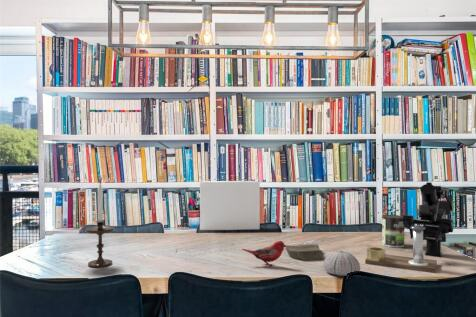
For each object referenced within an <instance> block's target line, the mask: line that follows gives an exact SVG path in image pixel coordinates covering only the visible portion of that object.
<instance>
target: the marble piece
mask: <svg viewBox="0 0 476 317" xmlns="http://www.w3.org/2000/svg"><path fill="white" fill-rule="evenodd" d="M286 246H287V247H285V250H286V252H287V254H288V256H289V257H291V258H292V259H296V260H301V261H319V260H321V259H323V251H322V250H321V249H320V247H319V244H318V243H312V244H301V245H300V244H299V245H298V244H297V245H286Z"/></svg>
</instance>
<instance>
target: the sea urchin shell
mask: <svg viewBox="0 0 476 317" xmlns="http://www.w3.org/2000/svg"><path fill="white" fill-rule="evenodd" d="M322 264H323V269H324V271H325V272H327V273H328V274H331V275H335V276H343V277H345V276H347V275H346V274H347V273H350V272H354V271H359V272H360V270H361V265H360V262H359V260H358V259H357V258H356V257H355V255H353V254H352V253H351V252H348V251H344V250H336V251H332V252H331V253H330V254H328V255H327V256H326V257H325V258H324V260H323V263H322Z"/></svg>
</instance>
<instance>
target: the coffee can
mask: <svg viewBox="0 0 476 317" xmlns="http://www.w3.org/2000/svg"><path fill="white" fill-rule="evenodd" d="M402 217H403V215H398V214H397V215H396V214H383V215H382V216H381V219H382V220H381V222H382V223H381V225H382V226H381V227H382V228H381V230H382V232H381V235H382V236H381V245H382V246H384V247H388V248H397V249H398V248H400V249H401V248H403V247H404V248H405V227H404V224H403V221H402Z"/></svg>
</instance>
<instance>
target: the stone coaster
mask: <svg viewBox="0 0 476 317" xmlns="http://www.w3.org/2000/svg"><path fill="white" fill-rule="evenodd" d="M408 263H409V264H410V265H414V266H428V263H427V262H425V261H423V263H422V264H419V263H414V262H413V260H409V261H408Z"/></svg>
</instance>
